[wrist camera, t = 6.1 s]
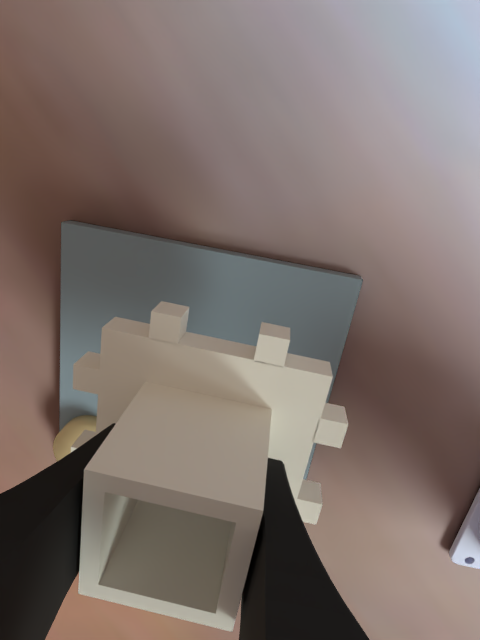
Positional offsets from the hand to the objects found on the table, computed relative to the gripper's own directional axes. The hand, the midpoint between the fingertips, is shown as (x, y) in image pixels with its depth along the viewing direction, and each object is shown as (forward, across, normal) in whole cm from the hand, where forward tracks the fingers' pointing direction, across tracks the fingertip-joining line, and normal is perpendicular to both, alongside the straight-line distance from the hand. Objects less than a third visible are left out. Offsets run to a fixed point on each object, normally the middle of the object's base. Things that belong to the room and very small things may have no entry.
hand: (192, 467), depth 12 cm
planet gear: (+2, 0, 0) cm, 2 cm away
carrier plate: (+9, +2, +2) cm, 9 cm away
